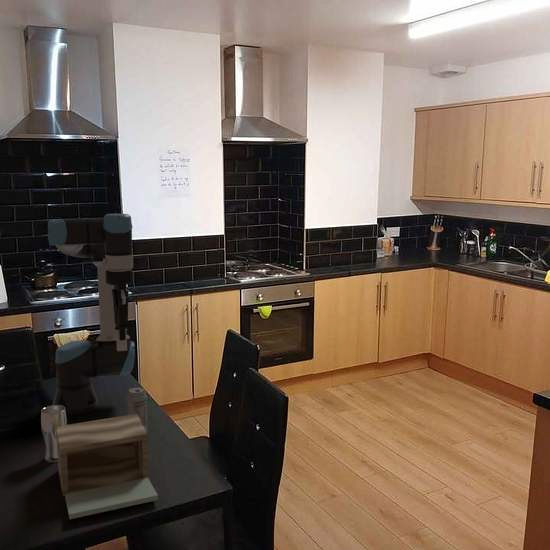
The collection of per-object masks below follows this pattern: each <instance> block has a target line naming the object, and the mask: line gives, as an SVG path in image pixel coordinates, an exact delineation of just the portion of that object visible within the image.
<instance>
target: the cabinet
mask: <svg viewBox="0 0 550 550" xmlns="http://www.w3.org/2000/svg"><path fill="white" fill-rule="evenodd" d="M56 434H57V451H58V462H57V466H58V467H57V468H58V469H57V470H58V475H59V476H58V477H59V481H60V488H61V494H62V495H61V496H62V497H65V494H68V493H73V492H78V491H83V490H88V489H93V488H98V487H103V486H108V485H113V484H118V483H123V482H128V481H133V480H137V479H142V478H147V477H148V479H149V480H150V477H149V473H150V472H149V445H148V444H149V442H148V441H149V439H148V436H149V435H148V431H147V432H146V430H145V428H144V426H143V424H142V422H141V420H140V418H139V416H138V415H137V414H133V415H128V414H126V415H122V416H114V417H109V418H104V419H96V420H89V421H83V422H77V423H71V424H67V425H63V426H57V427H56Z"/></svg>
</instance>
